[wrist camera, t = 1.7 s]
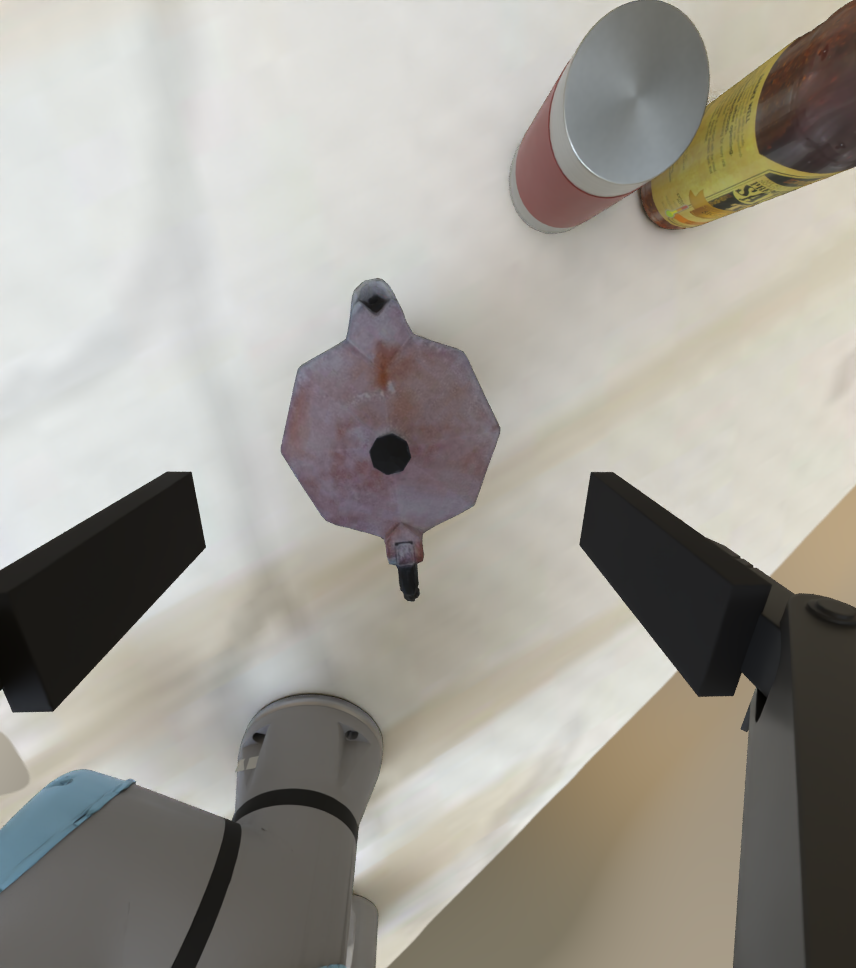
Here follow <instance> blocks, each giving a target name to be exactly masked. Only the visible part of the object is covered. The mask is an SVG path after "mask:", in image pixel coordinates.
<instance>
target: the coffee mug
mask: <svg viewBox="0 0 856 968" xmlns="http://www.w3.org/2000/svg"><path fill="white" fill-rule="evenodd" d="M377 928H378V911H377V908H376V907H375V905H374V904H373V903H371V902H370V901H369V900H367V899H365V898H363V897H360V896H357V895H352V904H351V915H350V925H349V936H348V947H347V958H346V967H347V968H375V967H376V947H377Z"/></svg>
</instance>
